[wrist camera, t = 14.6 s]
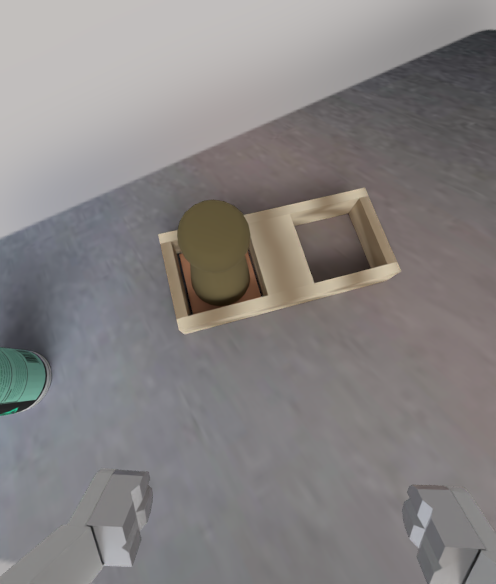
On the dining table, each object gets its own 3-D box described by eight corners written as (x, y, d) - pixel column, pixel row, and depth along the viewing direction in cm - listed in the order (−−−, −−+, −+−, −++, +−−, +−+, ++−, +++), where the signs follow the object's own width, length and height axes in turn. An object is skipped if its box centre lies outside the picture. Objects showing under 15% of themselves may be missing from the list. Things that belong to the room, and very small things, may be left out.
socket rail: (353, 203, 33) (364, 187, 30) (385, 280, 31) (401, 271, 28) (165, 247, 31) (158, 234, 28) (184, 334, 29) (178, 329, 26)
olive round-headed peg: (183, 259, 30) (156, 198, 20) (239, 243, 31) (241, 175, 21) (200, 314, 29) (180, 279, 18) (258, 295, 30) (270, 251, 19)
